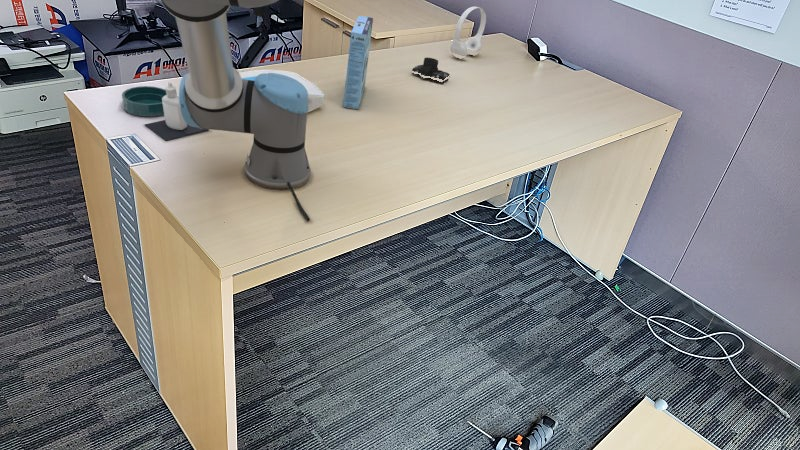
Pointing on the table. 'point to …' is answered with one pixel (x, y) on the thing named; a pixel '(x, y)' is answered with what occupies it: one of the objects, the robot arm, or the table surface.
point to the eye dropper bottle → (172, 109)
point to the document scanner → (313, 91)
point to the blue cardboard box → (357, 61)
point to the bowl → (144, 101)
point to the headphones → (472, 42)
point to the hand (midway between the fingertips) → (235, 17)
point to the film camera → (430, 70)
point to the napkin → (172, 130)
